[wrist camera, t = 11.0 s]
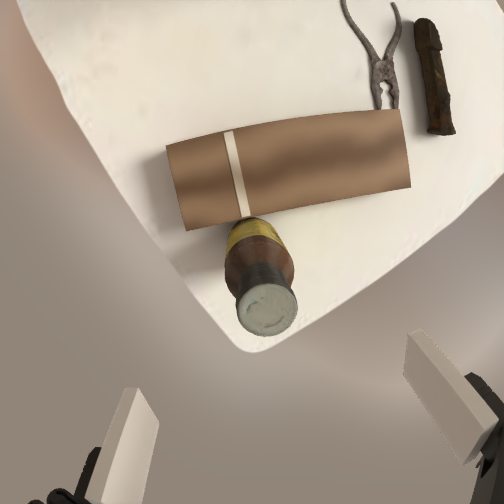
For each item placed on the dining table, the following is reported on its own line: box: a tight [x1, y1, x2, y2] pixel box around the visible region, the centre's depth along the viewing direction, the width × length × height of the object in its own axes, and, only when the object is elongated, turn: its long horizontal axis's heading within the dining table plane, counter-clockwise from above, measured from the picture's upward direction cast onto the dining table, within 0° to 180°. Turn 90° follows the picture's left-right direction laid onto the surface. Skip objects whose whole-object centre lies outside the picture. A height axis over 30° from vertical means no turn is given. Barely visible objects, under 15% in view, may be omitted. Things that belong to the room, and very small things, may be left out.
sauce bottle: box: [225, 217, 298, 337], centre depth 29 cm, size 6×6×20 cm
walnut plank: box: [166, 109, 411, 231], centre depth 33 cm, size 10×28×4 cm, turn 102°
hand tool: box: [414, 18, 456, 136], centre depth 30 cm, size 19×4×5 cm, turn 4°
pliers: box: [341, 0, 402, 110], centre depth 30 cm, size 10×1×20 cm
